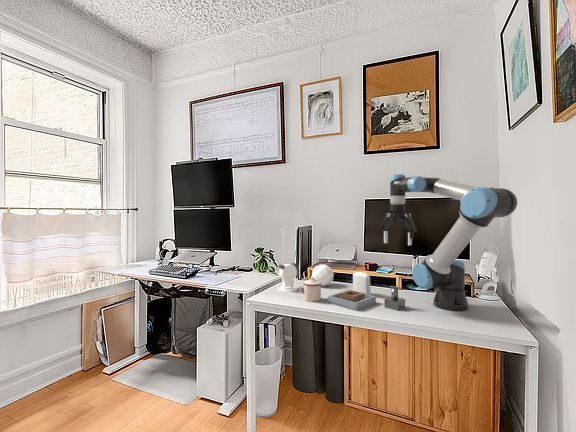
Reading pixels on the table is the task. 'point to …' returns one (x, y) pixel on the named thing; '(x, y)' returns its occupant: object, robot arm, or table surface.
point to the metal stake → (394, 300)
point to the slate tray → (355, 306)
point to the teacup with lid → (311, 290)
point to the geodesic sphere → (323, 274)
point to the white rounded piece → (287, 277)
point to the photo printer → (361, 282)
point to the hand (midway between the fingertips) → (397, 244)
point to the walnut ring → (352, 296)
